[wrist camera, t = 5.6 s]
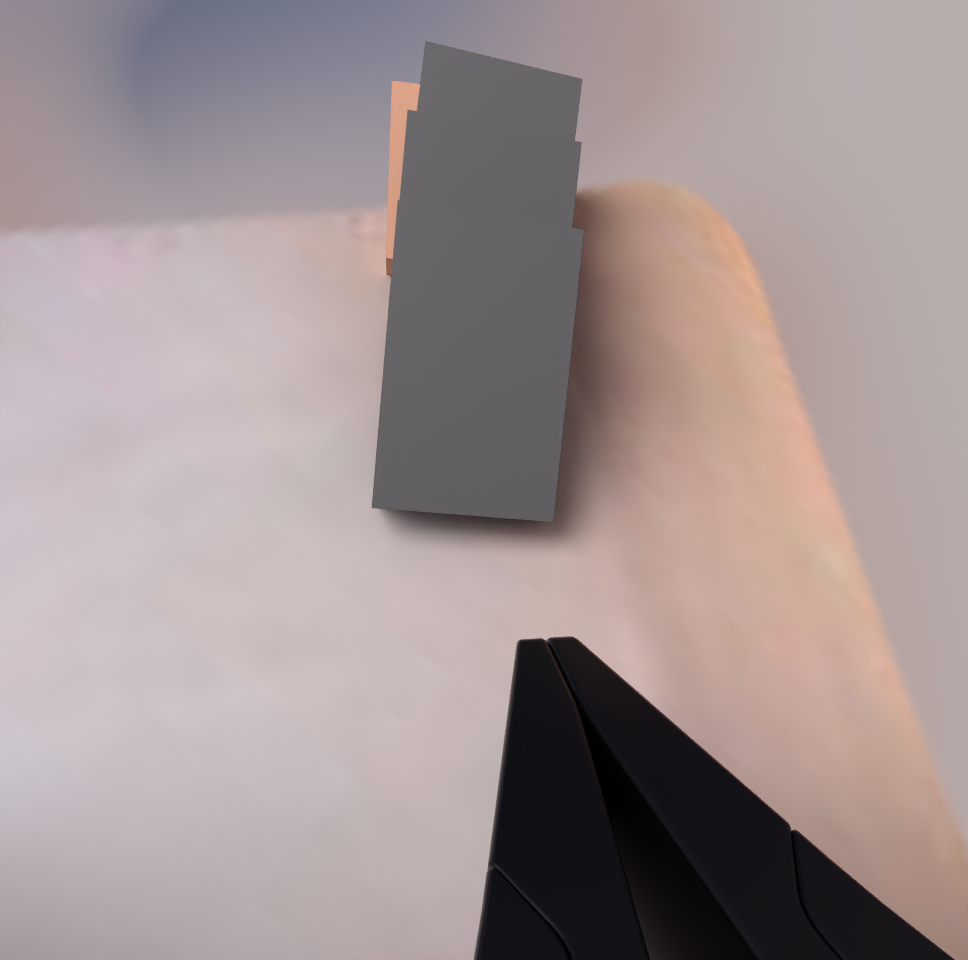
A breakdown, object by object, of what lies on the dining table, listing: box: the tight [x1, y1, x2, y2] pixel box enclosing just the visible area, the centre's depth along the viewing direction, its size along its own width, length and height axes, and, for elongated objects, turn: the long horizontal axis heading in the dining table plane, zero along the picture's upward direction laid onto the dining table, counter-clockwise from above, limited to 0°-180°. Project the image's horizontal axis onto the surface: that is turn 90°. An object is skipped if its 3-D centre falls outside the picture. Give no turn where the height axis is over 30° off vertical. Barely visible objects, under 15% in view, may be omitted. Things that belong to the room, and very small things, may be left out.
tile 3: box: [417, 41, 582, 141], centre depth 17 cm, size 1×5×8 cm
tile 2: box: [400, 110, 581, 228], centre depth 16 cm, size 1×5×8 cm
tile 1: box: [372, 200, 584, 522], centre depth 15 cm, size 1×5×8 cm
